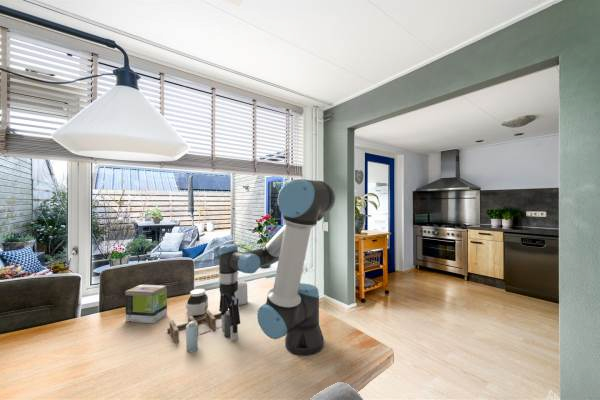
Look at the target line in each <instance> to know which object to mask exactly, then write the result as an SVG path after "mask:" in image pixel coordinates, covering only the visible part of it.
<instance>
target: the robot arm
mask: <svg viewBox="0 0 600 400" xmlns="http://www.w3.org/2000/svg"><path fill="white" fill-rule="evenodd" d="M335 201H336V193H335V191H334V189H333V187H332V186H331V185H330V184H328V183H327V182H325V181H322V180H314V179H313V180H311V179H305V178H299V179H291V180H289V181H287V182H286V183H285V184H283V186H282V187H281V188H280V190H279V192H278V196H277V206H278V207H279V208H278V209H279V211H280V213H281V219H282V221H283V222H284V225H283V226H282V227H281V228H280V229H279V230H278V231H277V233H275V234H274V235H273V237H272V238H271V239H270V240H269V241H268V242H267V243H266V244H265V245H264V246H263V247H261V248H257V249H253V250H248V251H239V249H238V245H237V244H235V243H226V244H222V245H220V246H219V249H218V250H219V251H218V267H219V268H218V270H219V272H218V275H219V277H218V281H219V284H218V285H219V292H220V296H219V298H220V299H219V309H218V310H219V312H220V313H221V317H220V318H221V326H222V328H221V332H223V331H224V332H225V327H224V314H225V313H226V311H228V310H229V313H230V318H231V325H230V326H231V337H230V342H234V341H236V340H238V338H239V337H238V336H239V335H238V334H239V332H238V331H239V327H238V325H240V324H241V318H240V317H241V316H240V308H239V307H240V305H239V306H238V298H237V299H235V294H234V293H235V292H236V291H237V290H238V282H239V281H238V280H239V277H238V275H239V272H241V273H243V274H254V273H257V271H258V270H259V269H260V268H262V267H265V266H269V265H273V264H275V263H277V266H276V272H275V277H274V284H273V288H271V289H270V290H269V291H268V293H267V296H266V301H265V303H264V304H262V305H261V306H259V307H258V310H257V314H256V315H257V322H258V325H259V326H260V329H261V332H263V334H265V336H266V337H269V339H272V340H279V339H281V338H282V337H285V340H284V341H285V343H284V345H285V348H286V350H287V351H288V352H289V353H291V354H294V355H297V356H303V357H304V356H305V357H307V356H309V357H310V356H313V355H316V354H318V353H319V352H321V351H322V350H323V349H324V343H325V342H324V341H325V340H324V336H323V332H322V329H321V327H320V294H319V293H320V291H319V289H318V287H317V286H316V285H313V284H309V283H303V282H302V283H301V278H302V274H303V270H304V269H303V268H304V265H305V259H306V255H307V251H308V250H307V249H308V245H309V240H310V234H311V230H312V228H314V227H315V226H317V223H318V222H320V221H321V220H322V219H323V218H324V217H325V216H326V215H327V214H328V213H329V212H330V211H331V210H332V209H333V207H334V206H335Z"/></svg>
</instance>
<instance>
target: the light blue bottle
mask: <svg viewBox="0 0 600 400" xmlns="http://www.w3.org/2000/svg"><path fill="white" fill-rule="evenodd" d="M187 323H188V322H187ZM198 336H199V332H198V333H197V323H195V321H191V322H189V323H188V325H186V328H185V338H186V339H185V343H186V344H185V345H186V349H185V350H186V352H188V351H192V352H195V351H196V350H198V345H199V342H198V339H199V338H198ZM194 350H195V351H194Z"/></svg>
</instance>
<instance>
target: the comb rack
mask: <svg viewBox="0 0 600 400" xmlns="http://www.w3.org/2000/svg"><path fill="white" fill-rule="evenodd" d="M220 318H221V312H220V313H215V314H212V312H211V311H209V309H207V311H205V315H204V317H203V318H202V317H201V318H199V319H195V318H193V316H192V315H190V316H189V315H187V319H188V321H187V322H185V323H182V324H179V325H177V324H176V322H175V320H169V328H167V332H166V333H167V334H170V336H171V339H172V338H173V339H172V340H173V342H174V344H177V343H180V340H179V338H180V337H179V336H180V335H179V334H180V330H184V329H186V325H188V323H189V322H191V321H195V323H197V333H198V334H199V335H200V336H201V335H203V334H206V333H209V332H212V331H216V330H218V329H222V325H221V326H218V327H217V321H216V320H217V319H220ZM203 323H206V324H207V326H208V327H209V328H210V329H209V330H206V331H203V332H199V324H203Z"/></svg>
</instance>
